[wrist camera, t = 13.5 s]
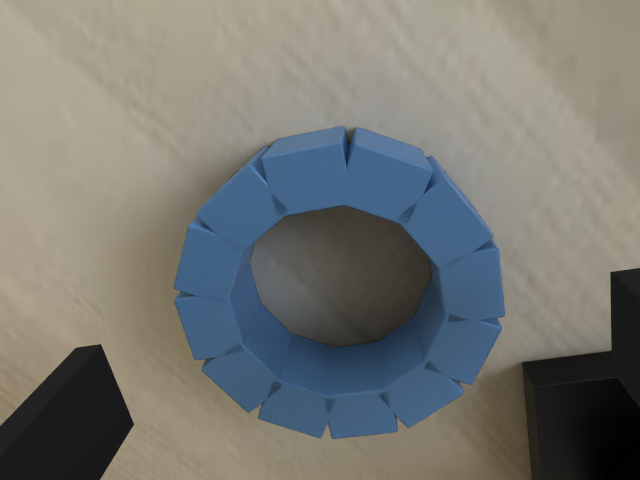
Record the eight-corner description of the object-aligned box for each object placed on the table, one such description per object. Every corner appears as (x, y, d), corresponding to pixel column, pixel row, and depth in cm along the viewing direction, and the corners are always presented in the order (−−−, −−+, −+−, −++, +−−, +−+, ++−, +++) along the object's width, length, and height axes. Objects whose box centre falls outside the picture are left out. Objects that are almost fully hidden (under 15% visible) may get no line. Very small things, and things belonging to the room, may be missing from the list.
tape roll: (464, 101, 16) (486, 113, 13) (493, 365, 19) (515, 419, 17) (168, 160, 17) (132, 182, 15) (243, 397, 21) (225, 452, 18)
